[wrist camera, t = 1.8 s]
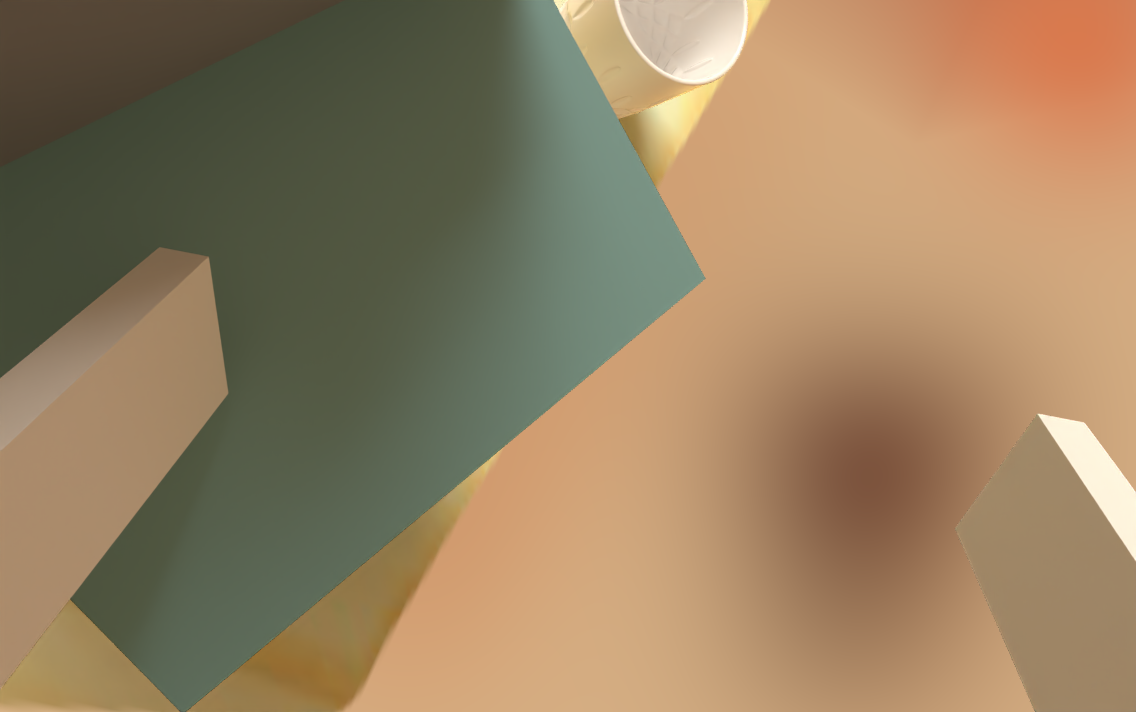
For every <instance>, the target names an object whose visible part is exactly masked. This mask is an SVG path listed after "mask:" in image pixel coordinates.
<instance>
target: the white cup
mask: <svg viewBox="0 0 1136 712" xmlns="http://www.w3.org/2000/svg"><path fill="white" fill-rule="evenodd" d="M559 12H560V14H561V16H562V17H563V19H564V21H565V23H566V25H567V26H568V28H569V30H570V32H571V34H572V36H573V37H574V39H575V41H576V43H577V45H578V47H579V48H580V50H581V52H582V54H583V56H584V58H585V59H586V61H587V63H588V65H589V67H590V68H591V70H592V72H593V74H594V76H595V78H596V79H597V81H598V83H599V85H600V87H601V89H602V90H603V92H604V94H605V96H606V98H607V100H608V101H609V103H610V105H611V107H612V109H613V110H614V112H615V114H616V116H617V118H618V119H620V118H623V117H627V116H630V115H633V114H636V113H639V112H641V111H643V110H646V109H649V108H652V107H654V106H657V105H659V104H662V103H664V102H666V101H669V100H671V99H673V98H676V97H678V96H680V95H683V94H685V93H687V92H690V91H692V90H694V89H697V88H699V87H701V86H704V85H706V84H709V83H711V82H713V81H715V80H717V79H719V78H721V77H722V76H723V75H725V74H726V73H727V72H728V71H729V70H730V69H731V68H732V67H733V65H734V64H735V62H736V61H737V59H738V58H739V56H740V54H741V51H742V49H743V46H744V43H745V39H746V34H747V27H748V8H747V0H566V1H565V2H564V3H563V5H562V6H561V7H560V9H559Z"/></svg>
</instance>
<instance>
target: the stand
mask: <svg viewBox="0 0 1136 712" xmlns="http://www.w3.org/2000/svg"><path fill="white" fill-rule="evenodd" d="M159 247H161V248H167V249H172V250H177V251H182V252H187V253H192V254H198V255H203V256H208V257H209V262H210V269H211V276H212V283H213V290H214V297H215V304H216V311H217V318H218V325H219V331H220V338H221V345H222V352H223V359H224V366H225V373H226V380H227V387H228V395H227V396H226V397H225V399H224V400H223V401H222V402H221V404H220V405H219V406H218V408H217V409H216V410H215V412H214V413H213V414H212V415H211V417H210V418H209V419H208V421H207V422H206V423H205V425H204V426H203V427H202V428H201V430H200V431H199V432H198V434H197V435H196V436H195V438H194V439H193V440H192V441H191V443H190V444H189V445H188V447H187V448H186V449H185V451H184V452H183V453H182V454H181V456H180V457H179V458H178V460H177V461H176V462H175V463H174V465H173V466H172V467H171V469H170V470H169V471H168V473H167V474H166V475H165V476H164V478H163V479H162V480H161V482H160V483H159V484H158V486H157V487H156V488H155V489H154V491H153V492H152V493H151V495H150V496H149V497H148V499H147V500H146V501H145V502H144V504H143V505H142V506H141V508H140V509H139V510H138V511H137V513H136V514H135V515H134V517H133V518H132V519H131V521H130V522H129V523H128V524H127V526H126V527H125V528H124V530H123V531H122V532H121V534H120V535H119V536H118V537H117V539H116V540H115V541H114V543H113V544H112V545H111V547H110V548H109V549H108V550H107V552H106V553H105V554H104V556H103V557H102V558H101V559H100V561H99V562H98V563H97V565H96V566H95V567H94V569H93V570H92V571H91V572H90V574H89V575H88V576H87V578H86V579H85V580H84V582H83V583H82V584H81V585H80V587H79V588H78V589H77V591H76V592H75V593H74V595H73V596H72V597H71V598H70V600H71V601H72V602H73V603H74V604H75V605H76V606H77V607H78V608H79V609H80V610H81V611H82V612H83V613H84V614H85V615H86V616H87V617H88V618H89V619H90V620H91V621H92V622H93V623H94V624H95V625H96V626H97V627H98V628H99V629H100V630H101V631H102V632H103V633H104V634H105V635H106V636H107V637H108V638H109V639H110V640H111V641H112V642H113V643H114V644H115V646H116V647H117V648H118V649H119V650H120V651H121V652H122V653H123V654H124V655H125V656H126V657H127V658H128V659H129V660H130V661H131V662H132V663H133V664H134V665H135V666H136V667H137V668H138V669H139V670H140V671H141V672H142V673H143V674H144V675H145V676H146V677H147V678H148V679H149V680H150V681H151V682H152V683H153V684H154V685H155V686H156V687H157V688H158V689H159V690H160V691H161V692H162V693H163V694H164V695H165V697H166V698H167V699H168V700H169V701H170V702H171V703H172V704H173V705H174V706H175V707H176V708H177V709H178V710H179V711H180V712H186V711H187V710H189V709H190V708H191V707H192V706H193V705H195V704H196V703H197V702H198V701H199V700H201V699H202V698H203V697H204V696H205V695H207V694H208V693H209V692H210V691H211V690H213V689H214V688H215V687H216V686H217V685H219V684H220V683H221V682H222V681H223V680H225V679H226V678H227V677H228V676H229V675H231V674H232V673H233V672H234V671H235V670H237V669H238V668H239V667H240V666H241V665H243V664H244V663H245V662H246V661H247V660H249V659H250V658H251V657H252V656H253V655H255V654H256V653H257V652H258V651H259V650H261V649H262V648H263V647H264V646H265V645H267V644H268V643H269V642H270V641H271V640H273V639H274V638H275V637H276V636H277V635H279V634H280V633H281V632H282V631H283V630H285V629H286V628H287V627H288V626H289V625H291V624H292V623H293V622H294V621H295V620H297V619H298V618H299V617H300V616H301V615H303V614H304V613H305V612H306V611H307V610H309V609H310V608H311V607H312V606H313V605H315V604H316V603H317V602H318V601H319V600H321V599H322V598H323V597H324V596H325V595H327V594H328V593H329V592H330V591H331V590H333V589H334V588H335V587H336V586H337V585H339V584H340V583H341V582H342V581H343V580H345V579H346V578H347V577H348V576H349V575H351V574H352V573H353V572H354V571H355V570H357V569H358V568H359V567H360V566H361V565H363V564H364V563H365V562H366V561H367V560H369V559H370V558H371V557H372V556H373V555H375V554H376V553H377V552H378V551H379V550H381V549H382V548H383V547H384V546H385V545H387V544H388V543H389V542H390V541H391V540H393V539H394V538H395V537H396V536H397V535H399V534H400V533H401V532H402V531H403V530H405V529H406V528H407V527H408V526H409V525H411V524H412V523H413V522H414V521H415V520H417V519H418V518H419V517H420V516H421V515H423V514H424V513H425V512H426V511H427V510H429V509H430V508H431V507H432V506H433V505H435V504H436V503H437V502H438V501H439V500H441V499H442V498H443V497H444V496H445V495H447V494H448V493H449V492H450V491H451V490H453V489H454V488H455V487H456V486H457V485H459V484H460V483H461V482H462V481H463V480H465V479H466V478H467V477H468V476H469V475H471V474H472V473H473V472H474V471H475V470H477V469H478V468H479V467H480V466H481V465H483V464H484V463H485V462H486V461H487V460H489V459H490V458H491V457H492V456H493V455H495V454H496V453H497V452H498V451H499V450H501V449H502V448H503V447H504V446H505V445H507V444H508V443H509V442H510V441H511V440H513V439H514V438H515V437H516V436H517V435H518V434H520V433H521V432H522V431H523V430H525V429H526V428H527V427H528V426H529V425H531V424H532V423H533V422H534V421H535V420H537V419H538V418H539V417H540V416H541V415H543V414H544V413H545V412H546V411H547V410H549V409H550V408H551V407H552V406H553V405H554V404H556V403H557V402H558V401H559V400H560V399H562V398H563V397H564V396H565V395H567V394H568V393H569V392H570V391H571V390H573V389H574V388H575V387H576V386H577V385H578V384H580V383H581V382H582V381H583V380H585V379H586V378H587V377H588V376H589V375H591V374H592V373H593V372H594V371H595V370H597V369H598V368H599V367H600V366H601V365H602V364H604V363H605V362H606V361H607V360H608V359H610V358H611V357H612V356H613V355H614V354H616V353H617V352H618V351H619V350H621V349H622V348H623V347H624V346H625V345H626V344H628V343H629V342H630V341H631V340H632V339H633V338H635V337H636V336H637V335H639V334H640V333H641V332H642V331H643V330H644V329H646V328H647V327H648V326H649V325H650V324H652V323H653V322H654V321H655V320H656V319H658V318H659V317H660V316H661V315H662V314H664V313H665V312H666V311H667V310H668V309H670V308H671V307H672V306H673V305H674V304H676V303H677V302H678V301H679V300H680V299H682V298H683V297H684V296H685V295H686V294H688V293H689V292H690V291H691V290H692V289H694V288H695V287H696V286H697V285H698V284H700V283H701V282H702V281H703V280H704V279H705V277H704V275H703V273H702V271H701V269H700V268H699V266H698V264H697V262H696V260H695V258H694V257H693V255H692V253H691V251H690V249H689V247H688V246H687V244H686V242H685V240H684V238H683V236H682V235H681V233H680V231H679V229H678V227H677V226H676V224H675V222H674V220H673V218H672V216H671V215H670V213H669V211H668V209H667V207H666V205H665V204H664V202H663V200H662V198H661V196H660V194H659V193H658V191H657V189H656V187H655V185H654V184H653V182H652V180H651V178H650V176H649V174H648V173H647V171H646V169H645V167H644V165H643V163H642V162H641V160H640V158H639V156H638V154H637V152H636V151H635V149H634V147H633V145H632V143H631V142H630V140H629V138H628V136H627V134H626V132H625V131H624V129H623V127H622V125H621V123H620V121H619V120H618V118H617V116H616V114H615V112H614V110H613V109H612V107H611V105H610V103H609V101H608V100H607V98H606V96H605V94H604V92H603V90H602V89H601V87H600V85H599V83H598V81H597V79H596V78H595V76H594V74H593V72H592V70H591V68H590V67H589V65H588V63H587V61H586V59H585V58H584V56H583V54H582V52H581V50H580V48H579V47H578V45H577V43H576V41H575V39H574V37H573V36H572V34H571V32H570V30H569V28H568V26H567V25H566V23H565V21H564V19H563V17H562V16H561V14H560V12H559V10H558V8H557V6H556V5H555V3H554V1H553V0H0V378H1V377H2V376H4V375H5V374H6V373H7V372H8V371H10V370H11V369H12V368H13V367H15V366H16V365H17V364H18V363H19V362H21V361H22V360H23V359H24V358H25V357H27V356H28V355H29V354H30V353H32V352H33V351H34V350H35V349H36V348H38V347H39V346H40V345H41V344H43V343H44V342H45V341H46V340H47V339H49V338H50V337H51V336H52V335H53V334H55V333H56V332H57V331H58V330H60V329H61V328H62V327H63V326H64V325H66V324H67V323H68V322H69V321H70V320H72V319H73V318H74V317H75V316H77V315H78V314H79V313H80V312H81V311H83V310H84V309H85V308H86V307H87V306H89V305H90V304H91V303H92V302H94V301H95V300H96V299H97V298H98V297H100V296H101V295H102V294H103V293H104V292H106V291H107V290H108V289H109V288H111V287H112V286H113V285H114V284H115V283H117V282H118V281H119V280H120V279H121V278H123V277H124V276H125V275H126V274H128V273H129V272H130V271H131V270H132V269H134V268H135V267H136V266H137V265H138V264H140V263H141V262H142V261H143V260H145V259H146V258H147V257H148V256H149V255H151V254H152V253H153V252H154V251H155V250H157V249H158V248H159Z"/></svg>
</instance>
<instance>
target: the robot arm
mask: <svg viewBox="0 0 1136 712" xmlns="http://www.w3.org/2000/svg"><path fill="white" fill-rule="evenodd" d="M227 395H228V387H227V380H226V373H225V366H224V359H223V352H222V345H221V338H220V331H219V325H218V318H217V311H216V304H215V297H214V290H213V283H212V276H211V269H210V262H209V257H208V256H203V255H198V254H192V253H187V252H182V251H177V250H172V249H167V248H161V247H159V248H158V249H157V250H155V251H154V252H153V253H152V254H151V255H149V256H148V257H147V258H146V259H145V260H143V261H142V262H141V263H140V264H138V265H137V266H136V267H135V268H134V269H132V270H131V271H130V272H129V273H128V274H126V275H125V276H124V277H123V278H121V279H120V280H119V281H118V282H117V283H115V284H114V285H113V286H112V287H111V288H109V289H108V290H107V291H106V292H104V293H103V294H102V295H101V296H100V297H98V298H97V299H96V300H95V301H94V302H92V303H91V304H90V305H89V306H87V307H86V308H85V309H84V310H83V311H81V312H80V313H79V314H78V315H77V316H75V317H74V318H73V319H72V320H70V321H69V322H68V323H67V324H66V325H64V326H63V327H62V328H61V329H60V330H58V331H57V332H56V333H55V334H53V335H52V336H51V337H50V338H49V339H47V340H46V341H45V342H44V343H43V344H41V345H40V346H39V347H38V348H36V349H35V350H34V351H33V352H32V353H30V354H29V355H28V356H27V357H25V358H24V359H23V360H22V361H21V362H19V363H18V364H17V365H16V366H15V367H13V368H12V369H11V370H10V371H8V372H7V373H6V374H5V375H4V376H2V377H1V378H0V689H1V688H2V687H3V685H4V684H5V683H6V681H7V680H8V679H9V678H10V676H11V675H12V674H13V672H14V671H15V670H16V668H17V667H18V666H19V665H20V663H21V662H22V661H23V659H24V658H25V657H26V656H27V654H28V653H29V652H30V650H31V649H32V648H33V646H34V645H35V644H36V643H37V641H38V640H39V639H40V637H41V636H42V635H43V633H44V632H45V631H46V630H47V628H48V627H49V626H50V624H51V623H52V622H53V620H54V619H55V618H56V617H57V615H58V614H59V613H60V611H61V610H62V609H63V607H64V606H65V605H66V604H67V602H68V601H69V600H70V598H71V597H72V596H73V595H74V593H75V592H76V591H77V589H78V588H79V587H80V585H81V584H82V583H83V582H84V580H85V579H86V578H87V576H88V575H89V574H90V572H91V571H92V570H93V569H94V567H95V566H96V565H97V563H98V562H99V561H100V559H101V558H102V557H103V556H104V554H105V553H106V552H107V550H108V549H109V548H110V547H111V545H112V544H113V543H114V541H115V540H116V539H117V537H118V536H119V535H120V534H121V532H122V531H123V530H124V528H125V527H126V526H127V524H128V523H129V522H130V521H131V519H132V518H133V517H134V515H135V514H136V513H137V511H138V510H139V509H140V508H141V506H142V505H143V504H144V502H145V501H146V500H147V499H148V497H149V496H150V495H151V493H152V492H153V491H154V489H155V488H156V487H157V486H158V484H159V483H160V482H161V480H162V479H163V478H164V476H165V475H166V474H167V473H168V471H169V470H170V469H171V467H172V466H173V465H174V463H175V462H176V461H177V460H178V458H179V457H180V456H181V454H182V453H183V452H184V451H185V449H186V448H187V447H188V445H189V444H190V443H191V441H192V440H193V439H194V438H195V436H196V435H197V434H198V432H199V431H200V430H201V428H202V427H203V426H204V425H205V423H206V422H207V421H208V419H209V418H210V417H211V415H212V414H213V413H214V412H215V410H216V409H217V408H218V406H219V405H220V404H221V402H222V401H223V400H224V399H225V397H226V396H227ZM955 530H956V532H957V534H958V537H959V539H960V541H961V544H962V546H963V548H964V550H965V552H966V555H967V557H968V559H969V562H970V564H971V566H972V569H973V571H974V573H975V576H976V578H977V580H978V582H979V585H980V587H981V589H982V591H983V594H984V596H985V598H986V601H987V603H988V605H989V608H990V610H991V612H992V614H993V617H994V619H995V621H996V623H997V626H998V628H999V631H1000V632H1001V635H1002V637H1003V639H1004V642H1005V644H1006V647H1007V649H1008V651H1009V653H1010V655H1011V658H1012V660H1013V663H1014V665H1015V667H1016V669H1017V672H1018V674H1019V676H1020V679H1021V681H1022V683H1023V685H1024V688H1025V690H1026V692H1027V695H1028V697H1029V699H1030V701H1031V704H1032V706H1033V708H1034V711H1035V712H1136V492H1135V490H1134V489H1133V488H1132V486H1131V485H1130V484H1129V482H1128V481H1127V480H1126V478H1125V477H1124V476H1123V474H1122V473H1121V472H1120V470H1119V469H1118V467H1117V466H1116V465H1115V463H1114V462H1113V461H1112V459H1111V458H1110V457H1109V455H1108V454H1107V452H1106V451H1105V450H1104V449H1103V447H1102V446H1101V444H1100V443H1099V442H1098V440H1097V439H1096V438H1095V436H1094V435H1093V434H1092V432H1091V431H1090V430H1089V428H1088V427H1087V425H1086V424H1085V423H1084V422H1079V421H1073V420H1068V419H1063V418H1058V417H1052V416H1047V415H1042V414H1037V415H1036V416H1035V418H1034V419H1033V420H1032V422H1031V423H1030V425H1029V426H1028V427H1027V429H1026V430H1025V432H1024V433H1023V434H1022V436H1021V437H1020V439H1019V440H1018V442H1017V443H1016V444H1015V446H1014V447H1013V448H1012V450H1011V451H1010V453H1009V454H1008V456H1007V457H1006V458H1005V460H1004V461H1003V462H1002V464H1001V465H1000V467H999V468H998V469H997V471H996V472H995V473H994V475H993V476H992V478H991V479H990V480H989V482H988V484H987V485H986V486H985V487H984V489H983V490H982V492H981V493H980V495H979V496H978V497H977V499H976V500H975V501H974V503H973V504H972V506H971V507H970V508H969V510H968V511H967V513H966V514H965V515H964V517H963V518H962V520H961V521H960V522H959V524H958V525H957V527H956V528H955Z"/></svg>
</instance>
